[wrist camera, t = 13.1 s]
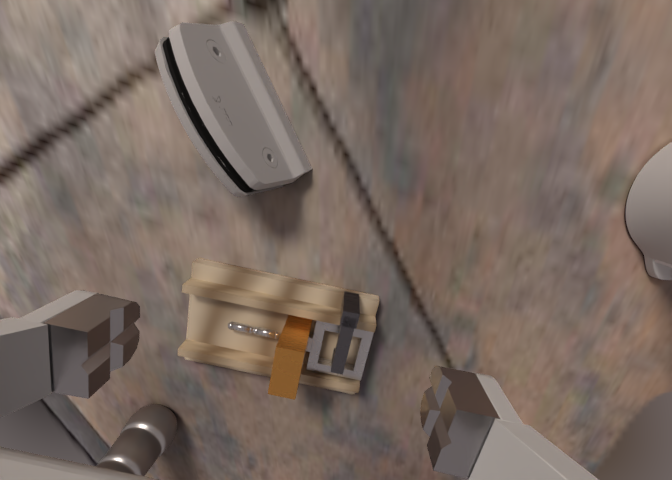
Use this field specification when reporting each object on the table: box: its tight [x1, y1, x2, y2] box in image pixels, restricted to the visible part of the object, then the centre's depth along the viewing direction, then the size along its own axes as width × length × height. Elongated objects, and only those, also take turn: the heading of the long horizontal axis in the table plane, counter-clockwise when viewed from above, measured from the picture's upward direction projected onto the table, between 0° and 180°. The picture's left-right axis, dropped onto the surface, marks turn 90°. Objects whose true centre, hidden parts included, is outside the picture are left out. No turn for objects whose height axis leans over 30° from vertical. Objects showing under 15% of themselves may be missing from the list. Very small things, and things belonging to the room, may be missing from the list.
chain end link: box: [228, 315, 374, 400], centre depth 37 cm, size 18×7×7 cm, turn 78°
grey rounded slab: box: [155, 21, 312, 197], centre depth 31 cm, size 17×5×10 cm, turn 25°
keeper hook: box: [331, 291, 360, 375], centre depth 37 cm, size 2×8×5 cm, turn 168°
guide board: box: [178, 258, 379, 394], centre depth 40 cm, size 23×14×4 cm, turn 79°
